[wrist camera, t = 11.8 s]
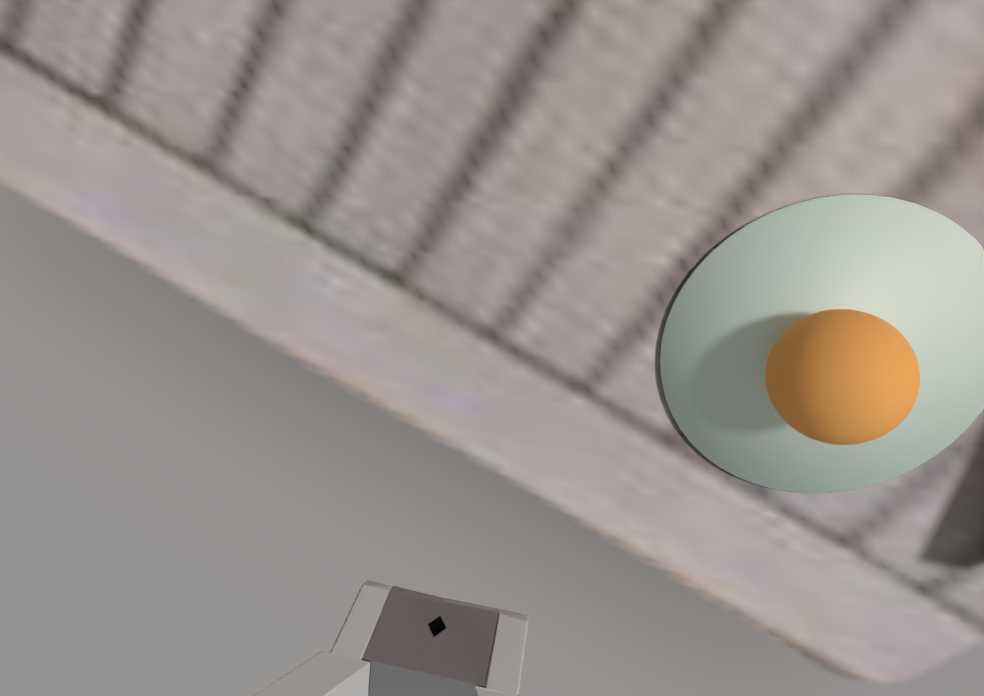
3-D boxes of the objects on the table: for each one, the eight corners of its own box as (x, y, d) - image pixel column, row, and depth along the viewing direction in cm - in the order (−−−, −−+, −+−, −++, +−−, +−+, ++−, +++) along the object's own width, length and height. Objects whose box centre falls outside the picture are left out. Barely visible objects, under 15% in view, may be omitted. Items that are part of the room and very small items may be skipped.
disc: (684, 184, 24) (685, 184, 24) (1064, 205, 22) (1067, 206, 22) (641, 472, 29) (641, 474, 29) (947, 507, 28) (949, 510, 27)
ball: (812, 285, 26) (749, 311, 23) (956, 313, 22) (904, 349, 19) (792, 395, 28) (732, 434, 25) (922, 437, 24) (871, 488, 21)
